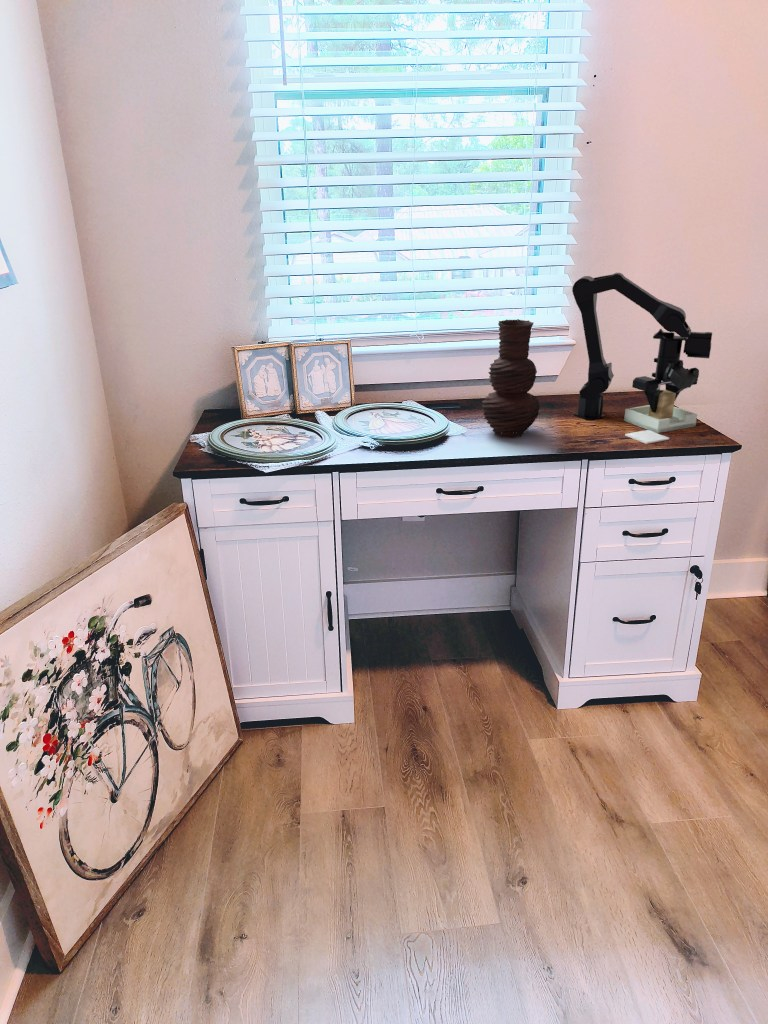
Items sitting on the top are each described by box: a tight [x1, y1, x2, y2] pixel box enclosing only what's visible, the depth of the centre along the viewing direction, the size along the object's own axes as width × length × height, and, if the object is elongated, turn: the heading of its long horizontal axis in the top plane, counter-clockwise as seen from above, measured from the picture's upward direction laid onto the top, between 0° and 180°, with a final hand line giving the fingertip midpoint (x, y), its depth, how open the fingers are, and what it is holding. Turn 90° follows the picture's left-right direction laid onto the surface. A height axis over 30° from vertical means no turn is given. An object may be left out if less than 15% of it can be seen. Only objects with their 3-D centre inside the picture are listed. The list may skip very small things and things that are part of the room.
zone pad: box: [624, 429, 670, 445], centre depth 202 cm, size 8×8×1 cm
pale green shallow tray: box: [623, 404, 698, 434], centre depth 213 cm, size 14×13×4 cm
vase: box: [481, 319, 541, 439], centre depth 201 cm, size 15×15×30 cm
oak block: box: [648, 389, 676, 420], centre depth 212 cm, size 4×4×7 cm
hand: (661, 411), depth 212 cm, fingers open, 5 cm apart
